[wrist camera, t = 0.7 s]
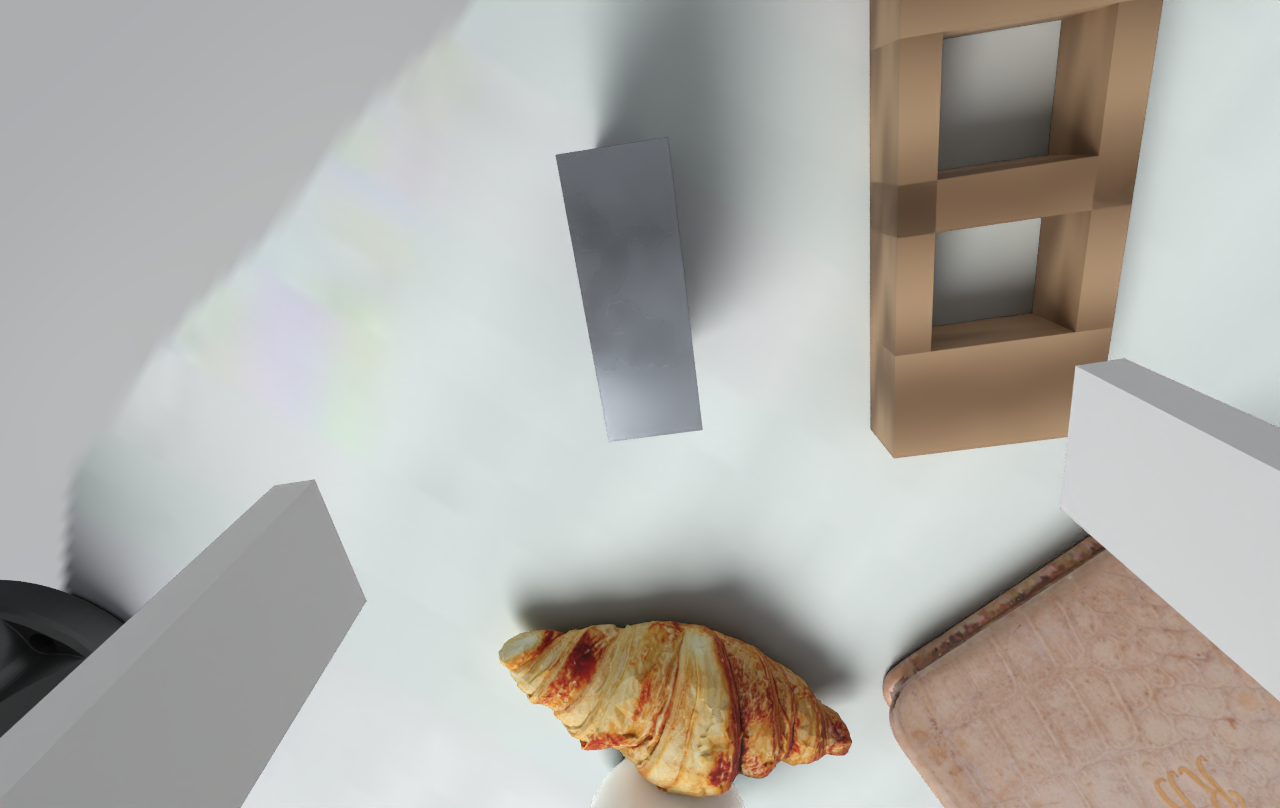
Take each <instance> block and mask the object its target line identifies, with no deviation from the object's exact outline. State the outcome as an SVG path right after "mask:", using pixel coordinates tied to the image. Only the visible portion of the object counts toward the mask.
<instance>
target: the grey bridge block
mask: <svg viewBox="0 0 1280 808" xmlns="http://www.w3.org/2000/svg"><path fill="white" fill-rule="evenodd" d="M556 160H557V165H558V170H559V176H560V181H561V187H562V192H563V197H564V203H565V208H566V214H567V219H568V224H569V230H570V235H571V241H572V246H573V251H574V257H575V262H576V268H577V273H578V278H579V284H580V289H581V295H582V300H583V305H584V311H585V316H586V322H587V327H588V332H589V338H590V343H591V349H592V354H593V359H594V365H595V370H596V376H597V381H598V386H599V392H600V397H601V403H602V408H603V413H604V419H605V424H606V430H607V435H608V440H609V442H612V441H620V440H628V439H635V438H643V437H651V436H659V435H666V434H674V433H682V432H690V431H697V430H703V429H702V421H701V413H700V404H699V396H698V387H697V379H696V370H695V362H694V354H693V345H692V337H691V328H690V320H689V311H688V303H687V294H686V286H685V278H684V269H683V261H682V252H681V244H680V235H679V227H678V219H677V210H676V202H675V193H674V185H673V176H672V168H671V160H670V151H669V143H668V137H664V138H658V139H652V140H646V141H639V142H633V143H627V144H621V145H614V146H608V147H602V148H596V149H589V150H583V151H577V152H570V153H564V154H558V155H556Z"/></svg>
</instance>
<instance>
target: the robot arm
mask: <svg viewBox="0 0 1280 808" xmlns="http://www.w3.org/2000/svg"><path fill="white" fill-rule="evenodd" d="M1060 509H1061V510H1062V511H1064V512H1065V513H1066V514H1067V515H1068V516H1069V517H1070V518H1072V519H1073V520H1074V521H1075V522H1076V523H1077V524H1078V525H1079V526H1081V527H1082V528H1083V529H1084V530H1085V531H1086V532H1087V533H1089V534H1090V535H1091V536H1092V537H1093V538H1094V539H1095V540H1097V541H1098V542H1099V543H1100V544H1101V545H1102V546H1103V547H1105V548H1106V549H1107V550H1108V551H1109V552H1110V553H1111V554H1112V555H1114V556H1115V557H1116V558H1117V559H1118V560H1119V561H1120V562H1122V563H1123V564H1124V565H1125V566H1126V567H1127V568H1128V569H1130V570H1131V571H1132V572H1133V573H1134V574H1135V575H1136V576H1137V577H1139V578H1140V579H1141V580H1142V581H1143V582H1144V583H1145V584H1147V585H1148V586H1149V587H1150V588H1151V589H1152V590H1153V591H1155V592H1156V593H1157V594H1158V595H1159V596H1160V597H1161V598H1163V599H1164V600H1165V601H1166V602H1167V603H1168V604H1169V605H1170V606H1172V607H1173V608H1174V609H1175V610H1176V611H1177V612H1178V613H1180V614H1181V615H1182V616H1183V617H1184V618H1185V619H1186V620H1188V621H1189V622H1190V623H1191V624H1192V625H1193V626H1194V627H1196V628H1197V629H1198V630H1199V631H1200V632H1201V633H1202V634H1203V635H1205V636H1206V637H1207V638H1208V639H1209V640H1210V641H1211V642H1213V643H1214V644H1215V645H1216V646H1217V647H1218V648H1219V649H1221V650H1222V651H1223V652H1224V653H1225V654H1226V655H1227V656H1228V657H1230V658H1231V659H1232V660H1233V661H1234V662H1235V663H1236V664H1238V665H1239V666H1240V667H1241V668H1242V669H1243V670H1244V671H1246V672H1247V673H1248V674H1249V675H1250V676H1251V677H1252V678H1254V679H1255V680H1256V681H1257V682H1258V683H1259V684H1260V685H1261V686H1263V687H1264V688H1265V689H1266V690H1267V691H1268V692H1269V693H1271V694H1272V695H1273V696H1274V697H1275V698H1276V699H1277V700H1279V701H1280V428H1278V427H1276V426H1274V425H1272V424H1269V423H1267V422H1265V421H1263V420H1261V419H1258V418H1256V417H1254V416H1252V415H1249V414H1247V413H1245V412H1243V411H1240V410H1238V409H1236V408H1234V407H1232V406H1229V405H1227V404H1225V403H1223V402H1220V401H1218V400H1216V399H1214V398H1211V397H1209V396H1207V395H1205V394H1203V393H1200V392H1198V391H1196V390H1194V389H1191V388H1189V387H1187V386H1185V385H1182V384H1180V383H1178V382H1176V381H1174V380H1171V379H1169V378H1167V377H1165V376H1162V375H1160V374H1158V373H1156V372H1153V371H1151V370H1149V369H1147V368H1145V367H1142V366H1140V365H1138V364H1136V363H1133V362H1131V361H1129V360H1127V359H1117V360H1111V361H1104V362H1097V363H1091V364H1084V365H1077V366H1075V375H1074V384H1073V393H1072V402H1071V411H1070V420H1069V429H1068V438H1067V447H1066V456H1065V465H1064V474H1063V483H1062V492H1061V501H1060ZM365 602H366V599H365V596H364V594H363V592H362V589H361V587H360V585H359V582H358V580H357V578H356V575H355V573H354V571H353V568H352V566H351V564H350V561H349V559H348V557H347V554H346V552H345V550H344V547H343V545H342V543H341V540H340V538H339V536H338V533H337V531H336V529H335V526H334V524H333V521H332V519H331V517H330V514H329V512H328V510H327V507H326V505H325V503H324V500H323V498H322V496H321V493H320V491H319V489H318V486H317V484H316V482H315V480H309V481H302V482H295V483H289V484H282V485H275V486H273V487H272V488H271V489H270V490H269V491H268V492H267V493H266V494H265V495H264V496H262V497H261V498H260V499H259V500H258V501H257V502H256V503H255V504H254V505H253V506H252V507H250V508H249V509H248V510H247V511H246V512H245V513H244V514H243V515H242V516H241V517H240V518H239V519H237V520H236V521H235V522H234V523H233V524H232V525H231V526H230V527H229V528H228V529H227V530H226V531H224V532H223V533H222V534H221V535H220V536H219V537H218V538H217V539H216V540H215V541H214V542H213V543H211V544H210V545H209V546H208V547H207V548H206V549H205V550H204V551H203V552H202V553H201V554H199V555H198V556H197V557H196V558H195V559H194V560H193V561H192V562H191V563H190V564H189V565H188V566H186V567H185V568H184V569H183V570H182V571H181V572H180V573H179V574H178V575H177V576H176V577H175V578H173V579H172V580H171V581H170V582H169V583H168V584H167V585H166V586H165V587H164V588H163V589H161V590H160V591H159V592H158V593H157V594H156V595H155V596H154V597H153V598H152V599H151V600H150V601H148V602H147V603H146V604H145V605H144V606H143V607H142V608H141V609H140V610H139V611H138V612H137V613H135V614H134V615H133V616H132V617H131V618H130V619H129V620H128V621H127V622H126V623H125V624H123V623H122V622H120V621H119V620H118V619H116V618H115V617H113V616H112V615H110V614H109V613H107V612H105V611H104V610H102V609H100V608H98V607H97V606H95V605H93V604H91V603H89V602H87V601H85V600H83V599H80V598H78V597H76V596H73V595H71V594H68V593H65V592H63V591H60V590H56V589H53V588H50V587H46V586H42V585H38V584H32V583H27V582H21V581H11V580H0V808H240V807H241V806H242V804H243V803H244V801H245V799H246V798H247V796H248V794H249V793H250V791H251V789H252V788H253V786H254V784H255V783H256V781H257V780H258V778H259V776H260V775H261V773H262V771H263V770H264V768H265V766H266V765H267V763H268V762H269V760H270V758H271V757H272V755H273V753H274V752H275V750H276V748H277V747H278V745H279V743H280V742H281V740H282V739H283V737H284V735H285V734H286V732H287V730H288V729H289V727H290V725H291V724H292V722H293V721H294V719H295V717H296V716H297V714H298V712H299V711H300V709H301V707H302V706H303V704H304V703H305V701H306V699H307V698H308V696H309V694H310V693H311V691H312V689H313V688H314V686H315V684H316V683H317V681H318V680H319V678H320V676H321V675H322V673H323V671H324V670H325V668H326V666H327V665H328V663H329V662H330V660H331V658H332V657H333V655H334V653H335V652H336V650H337V648H338V647H339V645H340V643H341V642H342V640H343V639H344V637H345V635H346V634H347V632H348V630H349V629H350V627H351V625H352V624H353V622H354V621H355V619H356V617H357V616H358V614H359V612H360V611H361V609H362V607H363V606H364V604H365Z"/></svg>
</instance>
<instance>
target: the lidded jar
mask: <svg viewBox="0 0 1280 808" xmlns="http://www.w3.org/2000/svg"><path fill="white" fill-rule="evenodd" d="M590 808H745V806H744V803H743V800H742V799H741V797H740V795H739V793H738V792H737V790H736V788H735V786H734V785H733V783H732V785H731V787H730V789H729V790H728V791H726V792H725V793H724V794H722V795H721V794H719V796H718V795H714V796H704V797H691V796H686V795H679V794H672V793H667V792H663V791H660V790H658V789H657V786H656V785H655V784H653V783H651V782H650V781H648V780H646V779H645V778H644V777H642V776H641V774H640V773H639V772H638V770H637V768H636V766H635V764H633V763H632V762H631V761H629V760H628V759H626V758H624V760H623V761H621V762H620V763H619V764H618V765H617V766H616V767H614V768H613V769H612V770H611V771H610V773H609V774H608V775H607V776H606V777H605V779H604V780H603V781H602V783H601V784H600V786H599V788H598V790H597V792H596V794H595V796H594V798H593V800H592V802H591V805H590Z"/></svg>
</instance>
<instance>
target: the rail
mask: <svg viewBox="0 0 1280 808" xmlns="http://www.w3.org/2000/svg"><path fill="white" fill-rule="evenodd" d="M1162 5H1163V0H870V395H871V430H872V431H873V433H874V434H875V435H876V436H877V438H878V439H879V440H880V441H881V443H882V444H883V445H884V446H885V448H886V449H887V450H888V452H889V453H890V454H891V455H892V457H893V458H901V457H909V456H917V455H925V454H933V453H941V452H949V451H958V450H966V449H974V448H982V447H990V446H998V445H1006V444H1015V443H1023V442H1031V441H1039V440H1047V439H1055V438H1063V437H1068V429H1069V420H1070V411H1071V402H1072V393H1073V384H1074V375H1075V366H1077V365H1084V364H1091V363H1097V362H1104V361H1107V359H1108V353H1109V346H1110V340H1111V333H1112V327H1113V321H1114V314H1115V308H1116V301H1117V295H1118V288H1119V282H1120V275H1121V269H1122V262H1123V256H1124V250H1125V243H1126V237H1127V230H1128V224H1129V217H1130V211H1131V204H1132V198H1133V192H1134V185H1135V179H1136V172H1137V166H1138V159H1139V153H1140V146H1141V140H1142V133H1143V127H1144V121H1145V114H1146V108H1147V101H1148V95H1149V88H1150V82H1151V75H1152V69H1153V63H1154V56H1155V50H1156V43H1157V37H1158V30H1159V24H1160V17H1161V11H1162ZM1056 20H1062V23H1061V32H1060V42H1059V52H1058V62H1057V72H1056V82H1055V91H1054V101H1053V111H1052V121H1051V131H1050V140H1049V150H1048V154H1047V155H1041V156H1034V157H1027V158H1021V159H1014V160H1008V161H1001V162H995V163H988V164H981V165H975V166H968V167H962V168H955V169H948V170H942V171H938V150H939V124H940V97H941V71H942V45H943V39H947V38H953V37H959V36H965V35H971V34H977V33H983V32H990V31H996V30H1002V29H1008V28H1014V27H1020V26H1026V25H1032V24H1038V23H1044V22H1050V21H1056ZM1041 217H1042V219H1041V229H1040V239H1039V248H1038V258H1037V268H1036V278H1035V288H1034V297H1033V307H1032V313H1029V314H1022V315H1015V316H1007V317H1000V318H993V319H985V320H978V321H970V322H963V323H956V324H948V325H941V326H934V327H932V308H933V282H934V256H935V233H938V232H945V231H952V230H959V229H966V228H973V227H979V226H986V225H993V224H1000V223H1007V222H1014V221H1021V220H1028V219H1034V218H1041Z"/></svg>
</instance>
